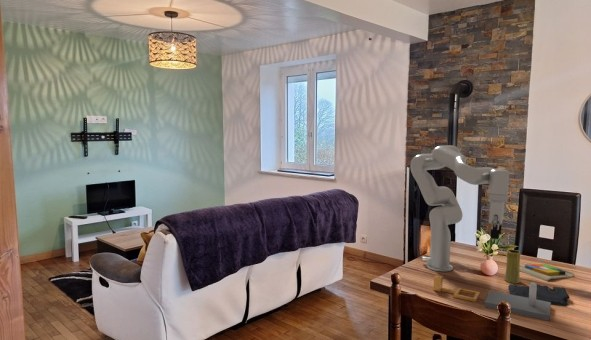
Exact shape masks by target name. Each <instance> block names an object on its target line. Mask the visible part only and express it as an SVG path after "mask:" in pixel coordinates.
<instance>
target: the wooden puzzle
mask: <svg viewBox="0 0 591 340" xmlns="http://www.w3.org/2000/svg"><path fill="white" fill-rule="evenodd" d="M520 272H521V273H523V274H526V275H529V276H530V277H534V278H537V279H539V280H542V281H545V282H549V281H550V280H555V279H556V280H559V279H567V278H568V279H569V278H573V277H574V276H575V273H574V272H572V271H569V270H566V269H563V268H560V267H557V266H554V265H550V264H547V263H536V264H525V265H520Z"/></svg>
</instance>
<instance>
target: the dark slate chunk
mask: <svg viewBox="0 0 591 340" xmlns="http://www.w3.org/2000/svg"><path fill="white" fill-rule="evenodd" d="M536 284H537V283H536ZM529 288H530V286H526V285H518V284H513V283H509V284H508V288H507V290H508V292H509V293H508V294H511V295H516V296H521V297H527V298H529ZM570 297H571V296H570V295H569V294H568V292H567V289H566V288H565V287H560V286H558V287H557V286H553V287H552V288H551V287H549V286H548V285H541V284H537V291H536V299H537V300H542V301H547V302H551V305H552V306H561V307H567V306H570V304H569V299H570Z"/></svg>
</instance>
